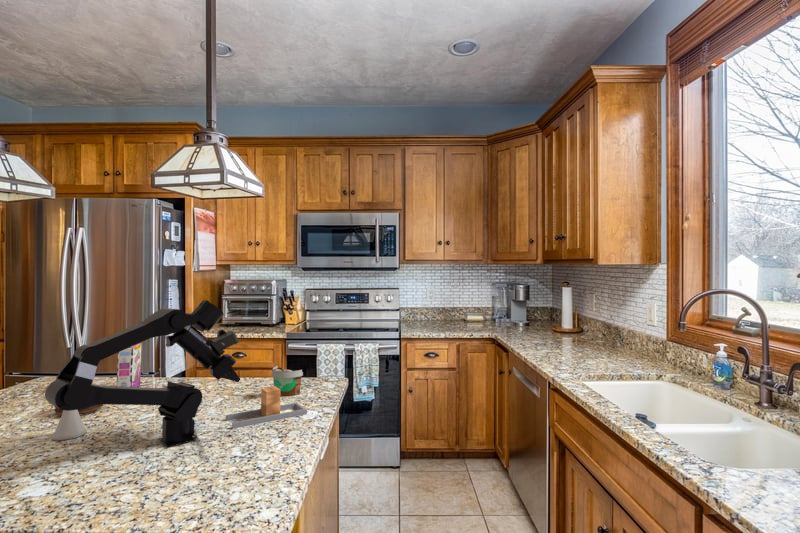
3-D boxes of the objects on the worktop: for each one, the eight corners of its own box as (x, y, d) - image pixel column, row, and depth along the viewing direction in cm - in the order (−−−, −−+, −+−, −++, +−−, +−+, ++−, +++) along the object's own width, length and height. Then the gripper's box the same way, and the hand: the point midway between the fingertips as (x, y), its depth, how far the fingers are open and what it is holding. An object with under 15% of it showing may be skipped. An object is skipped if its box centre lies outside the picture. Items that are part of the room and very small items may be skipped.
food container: (262, 398, 144) (263, 369, 144) (275, 393, 149) (276, 365, 149) (290, 403, 138) (290, 373, 138) (302, 398, 143) (303, 369, 144)
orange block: (266, 420, 118) (266, 391, 118) (260, 415, 122) (261, 387, 122) (280, 417, 121) (280, 389, 121) (274, 412, 125) (274, 385, 125)
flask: (45, 442, 105) (46, 402, 105) (60, 432, 112) (61, 394, 112) (79, 439, 107) (79, 400, 107) (91, 429, 114) (92, 392, 114)
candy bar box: (132, 393, 148) (133, 347, 148) (115, 394, 146) (116, 347, 147) (141, 385, 158) (142, 342, 159) (126, 386, 157) (127, 342, 157)
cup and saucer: (72, 421, 120) (72, 400, 120) (44, 416, 124) (45, 395, 124) (112, 408, 132) (113, 389, 132) (86, 404, 135) (86, 385, 136)
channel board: (233, 434, 111) (233, 423, 111) (225, 424, 118) (225, 414, 119) (307, 419, 123) (307, 409, 123) (296, 411, 131) (296, 402, 131)
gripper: (228, 325, 106) (270, 363, 112) (212, 318, 121) (250, 352, 127) (193, 359, 101) (239, 397, 108) (181, 348, 117) (222, 382, 123)
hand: (239, 380), depth 116 cm, fingers closed
